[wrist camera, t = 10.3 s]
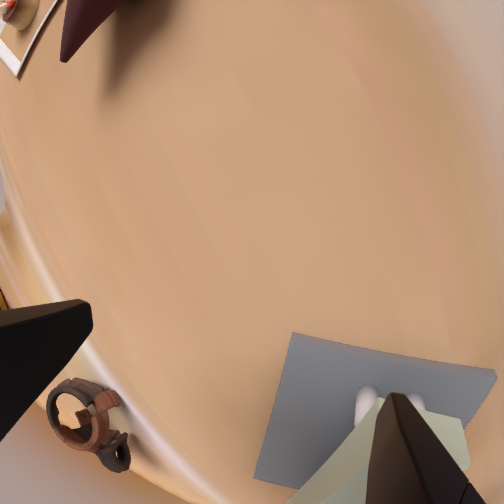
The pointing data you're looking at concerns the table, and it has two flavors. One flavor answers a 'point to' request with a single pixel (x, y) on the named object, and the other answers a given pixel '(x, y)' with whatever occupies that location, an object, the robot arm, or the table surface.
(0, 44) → the dessert
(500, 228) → the table surface
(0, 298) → the food
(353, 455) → the shelf board
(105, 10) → the icecream
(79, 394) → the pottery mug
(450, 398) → the peg plate
